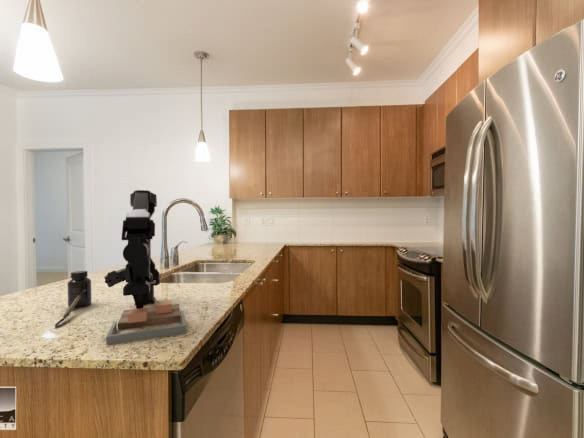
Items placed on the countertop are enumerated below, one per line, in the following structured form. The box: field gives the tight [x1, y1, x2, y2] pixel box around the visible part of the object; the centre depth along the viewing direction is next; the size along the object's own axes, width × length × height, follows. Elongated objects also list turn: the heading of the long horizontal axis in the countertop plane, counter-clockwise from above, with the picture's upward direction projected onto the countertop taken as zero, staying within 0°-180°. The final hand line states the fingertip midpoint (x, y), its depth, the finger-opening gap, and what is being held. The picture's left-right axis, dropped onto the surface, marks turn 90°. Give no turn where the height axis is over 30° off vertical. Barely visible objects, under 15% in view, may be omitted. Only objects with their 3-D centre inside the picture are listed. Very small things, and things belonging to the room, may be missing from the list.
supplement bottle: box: [67, 270, 93, 309], centre depth 104 cm, size 7×7×12 cm
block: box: [155, 299, 173, 314], centre depth 90 cm, size 4×4×2 cm
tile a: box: [128, 306, 149, 323], centre depth 83 cm, size 4×4×2 cm
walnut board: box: [117, 303, 181, 331], centre depth 89 cm, size 12×16×2 cm
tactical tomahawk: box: [54, 289, 86, 327], centre depth 91 cm, size 21×7×1 cm
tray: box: [105, 313, 187, 346], centre depth 78 cm, size 10×18×3 cm, turn 113°
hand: (139, 311), depth 86 cm, fingers closed
